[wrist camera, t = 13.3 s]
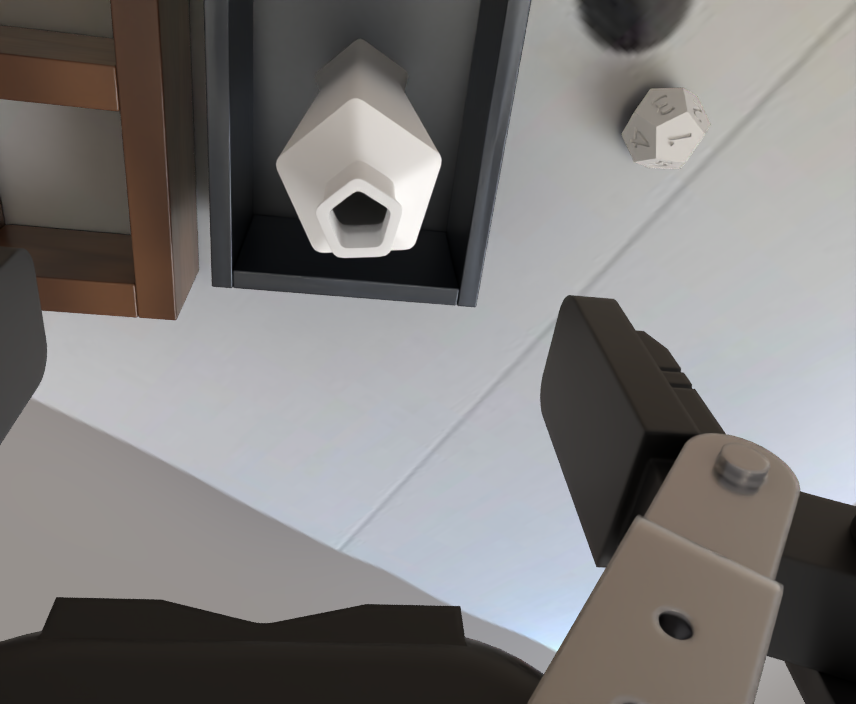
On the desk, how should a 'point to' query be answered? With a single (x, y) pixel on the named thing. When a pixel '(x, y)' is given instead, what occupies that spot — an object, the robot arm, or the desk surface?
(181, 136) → the rack
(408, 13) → the dark grey open box
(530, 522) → the desk surface
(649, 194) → the desk surface
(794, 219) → the desk surface
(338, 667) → the robot arm
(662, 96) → the game die
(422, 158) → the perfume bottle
